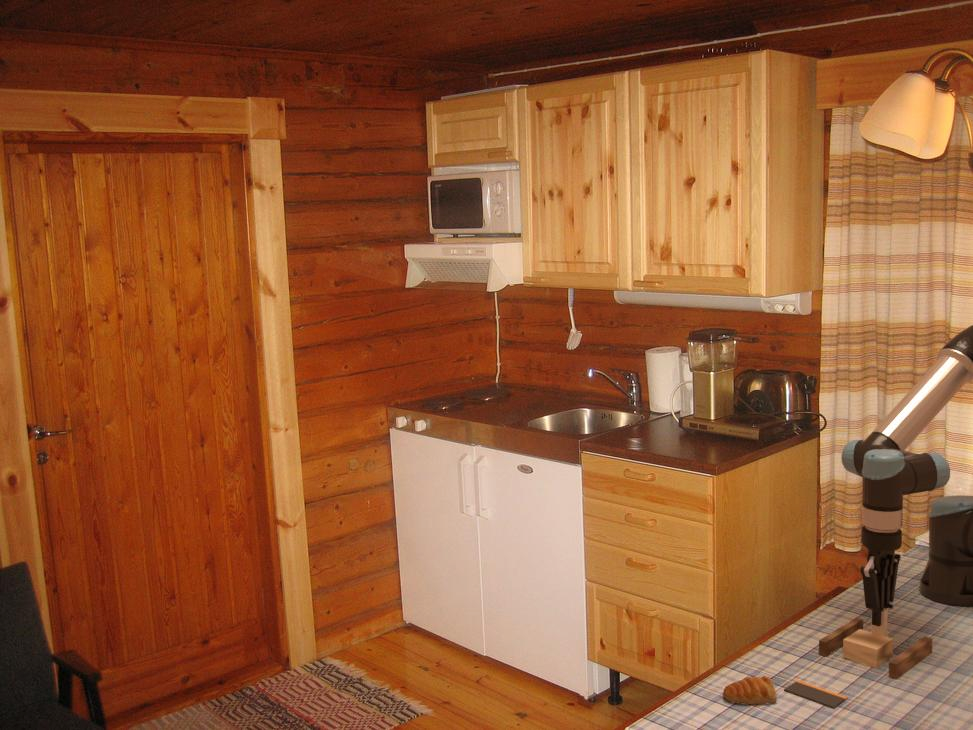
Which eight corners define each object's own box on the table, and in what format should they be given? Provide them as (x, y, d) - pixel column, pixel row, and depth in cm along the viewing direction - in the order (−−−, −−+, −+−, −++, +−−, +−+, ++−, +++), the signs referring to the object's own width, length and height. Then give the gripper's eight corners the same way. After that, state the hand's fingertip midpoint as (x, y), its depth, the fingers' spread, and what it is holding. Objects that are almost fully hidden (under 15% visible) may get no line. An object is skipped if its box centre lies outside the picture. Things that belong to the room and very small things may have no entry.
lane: (856, 630, 208) (856, 617, 208) (931, 652, 196) (932, 638, 196) (818, 654, 197) (818, 640, 197) (896, 679, 186) (896, 664, 185)
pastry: (730, 709, 177) (730, 689, 176) (717, 692, 184) (717, 673, 183) (779, 704, 178) (779, 685, 178) (765, 688, 185) (764, 669, 184)
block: (859, 647, 200) (859, 629, 200) (892, 657, 195) (893, 638, 195) (842, 658, 196) (843, 639, 195) (876, 669, 190) (876, 649, 190)
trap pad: (797, 681, 186) (797, 680, 186) (847, 698, 179) (847, 697, 179) (784, 690, 183) (784, 689, 183) (833, 708, 175) (833, 706, 175)
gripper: (878, 516, 201) (875, 624, 205) (848, 530, 193) (845, 643, 196) (914, 523, 196) (911, 634, 199) (884, 538, 187) (882, 654, 191)
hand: (878, 638), depth 198 cm, fingers closed
